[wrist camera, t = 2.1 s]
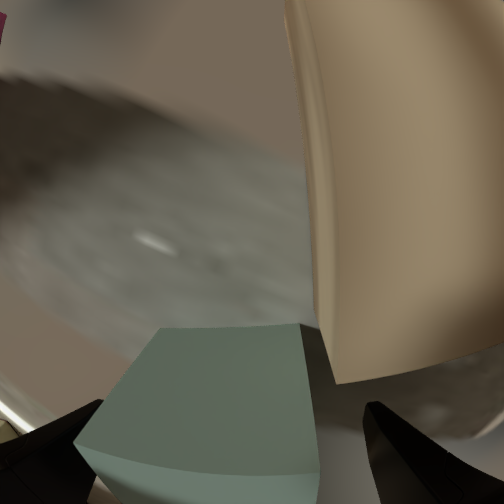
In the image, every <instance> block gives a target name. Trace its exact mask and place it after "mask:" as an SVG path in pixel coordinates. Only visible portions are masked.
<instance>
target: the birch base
mask: <svg viewBox="0 0 504 504" xmlns="http://www.w3.org/2000/svg"><path fill="white" fill-rule="evenodd" d="M284 22H285V27H286V32H287V38H288V43H289V49H290V55H291V60H292V66H293V73H294V79H295V85H296V93H297V100H298V106H299V114H300V122H301V130H302V139H303V148H304V157H305V167H306V177H307V189H308V201H309V214H310V229H311V246H312V266H313V294H314V311H315V314H316V318H317V321H318V324H319V327H320V331H321V334H322V337H323V341H324V344H325V347H326V351H327V354H328V357H329V361H330V364H331V368H332V371H333V375H334V378H335V382H336V384H344V383H351V382H357V381H363V380H369V379H375V378H380V377H386V376H391V375H395V374H400V373H405V372H409V371H413V370H418V369H422V368H426V367H429V366H433V365H437V364H440V363H444V362H447V361H451V360H454V359H457V358H461V357H464V356H467V355H470V354H473V353H476V352H479V351H482V350H484V349H487V348H490V347H492V346H495V345H498V344H500V343H503V342H504V2H502V1H501V0H285V12H284Z"/></svg>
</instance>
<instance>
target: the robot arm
mask: <svg viewBox="0 0 504 504" xmlns="http://www.w3.org/2000/svg"><path fill="white" fill-rule="evenodd" d="M103 401H104V400H101V399H97V400H95V401H93V402H91V403H89V404H87V405H85V406H83V407H81V408H79V409H77V410H75V411H73V412H71V413H69V414H67V415H65V416H63V417H61V418H59V419H57V420H55V421H52V422H50V423H48V424H46V425H44V426H42V427H40V428H38V429H35V430H33V431H31V432H29V433H26V434H24V435H22V436H20V437H17V438H15V439H12V440H9V441H6V442H3V443H0V504H86V501H87V499H88V496H89V494H90V491H91V489H92V486H93V483H94V481H95V478H96V476H97V474H96V473H95V472H94V471H93V469H92V468H91V467H90V465H89V464H88V463H87V462H86V460H85V459H84V458H83V456H82V455H81V453H80V452H79V451H78V449H77V448H76V446H75V445H74V443H73V442H74V440H75V439H76V438H77V436H78V435H79V434H80V432H81V431H82V430H83V428H84V427H85V426H86V424H87V423H88V421H89V420H90V419H91V417H92V416H93V415H94V413H95V412H96V411H97V409H98V408H99V407H100V405H101V404H102V403H103ZM363 429H364V435H365V441H366V446H367V453H368V459H369V463H370V467H371V470H372V474H373V477H374V480H375V484H376V488H377V491H378V494H379V498H380V502H381V504H504V481H502V480H499V479H497V478H495V477H493V476H490V475H488V474H486V473H484V472H482V471H480V470H478V469H476V468H474V467H472V466H470V465H468V464H467V463H465V462H463V461H462V460H460V459H459V458H457V457H456V456H454V455H453V454H451V453H450V452H448V453H447V450H445V449H444V448H442V447H441V446H440V445H438V444H437V443H435V442H434V441H433V440H431V439H430V438H428V437H427V436H426V435H424V434H423V433H421V432H420V431H419V430H417V429H416V428H415V427H413V426H412V425H410V424H409V423H408V422H406V421H405V420H404V419H402V418H401V417H400V416H398V415H397V414H396V413H394V412H393V411H392V410H390V409H389V408H388V407H386V406H385V405H384V404H382V403H381V402H380V401H374V402H368V403H367V404H366V406H365V411H364V416H363Z"/></svg>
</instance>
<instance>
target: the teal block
mask: <svg viewBox="0 0 504 504" xmlns="http://www.w3.org/2000/svg"><path fill="white" fill-rule="evenodd" d="M73 443H74V445H75V446H76V448H77V449H78V451H79V452H80V453H81V455H82V456H83V458H84V459H85V460H86V462H87V463H88V464H89V465H90V467H91V468H92V469H93V471H94V472H95V473H96V474H97V476H98V477H99V478H100V479H101V480H102V482H103V483H104V484H105V485H106V486H107V487H108V489H109V490H110V491H111V492H112V493H113V494H114V495H115V496H116V498H117V499H118V500H119V501H120V502H121V503H122V504H316V499H317V494H318V488H319V481H320V475H321V469H320V460H319V452H318V444H317V436H316V429H315V421H314V414H313V407H312V400H311V393H310V386H309V380H308V373H307V367H306V361H305V354H304V348H303V342H302V336H301V330H300V324H299V323H297V324H284V325H269V326H251V327H227V328H160V329H159V330H158V332H157V333H156V334H155V335H154V337H153V338H152V339H151V340H150V342H149V343H148V344H147V345H146V347H145V348H144V349H143V351H142V352H141V353H140V354H139V356H138V357H137V358H136V360H135V361H134V362H133V363H132V365H131V366H130V367H129V369H128V370H127V371H126V373H125V374H124V375H123V377H122V378H121V379H120V381H119V382H118V383H117V384H116V386H115V387H114V388H113V389H112V391H111V392H110V393H109V395H108V396H107V397H106V399H105V400H104V401H103V403H102V404H101V405H100V407H99V408H98V409H97V411H96V412H95V413H94V415H93V416H92V417H91V419H90V420H89V421H88V423H87V424H86V426H85V427H84V428H83V430H82V431H81V432H80V434H79V435H78V436H77V438H76V439H75V440H74V442H73Z"/></svg>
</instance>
